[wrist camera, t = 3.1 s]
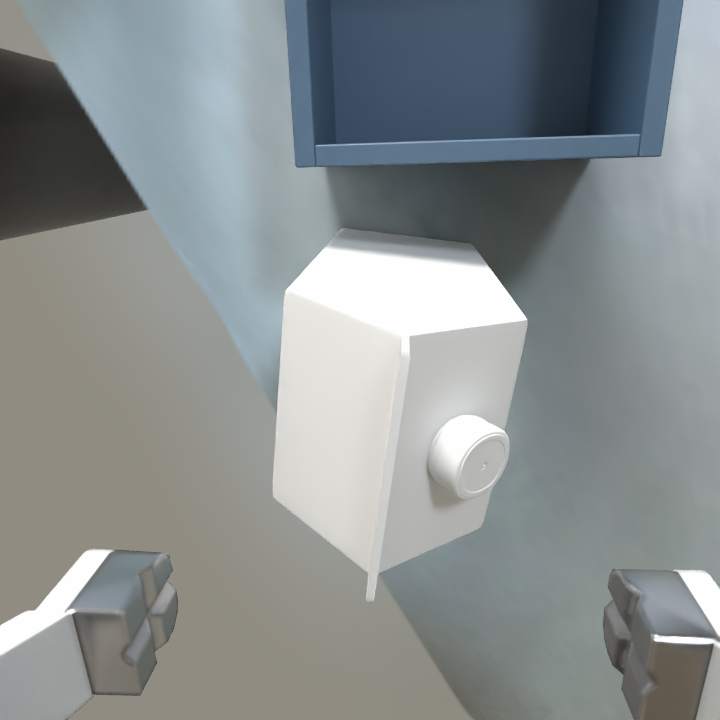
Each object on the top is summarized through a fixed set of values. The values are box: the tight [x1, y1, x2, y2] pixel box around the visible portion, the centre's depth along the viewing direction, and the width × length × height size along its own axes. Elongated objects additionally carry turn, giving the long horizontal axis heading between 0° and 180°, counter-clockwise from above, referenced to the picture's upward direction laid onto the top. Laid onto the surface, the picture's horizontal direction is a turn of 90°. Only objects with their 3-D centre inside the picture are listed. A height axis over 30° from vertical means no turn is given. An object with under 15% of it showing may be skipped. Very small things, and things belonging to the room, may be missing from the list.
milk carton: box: [273, 228, 527, 602], centre depth 22 cm, size 7×7×19 cm
